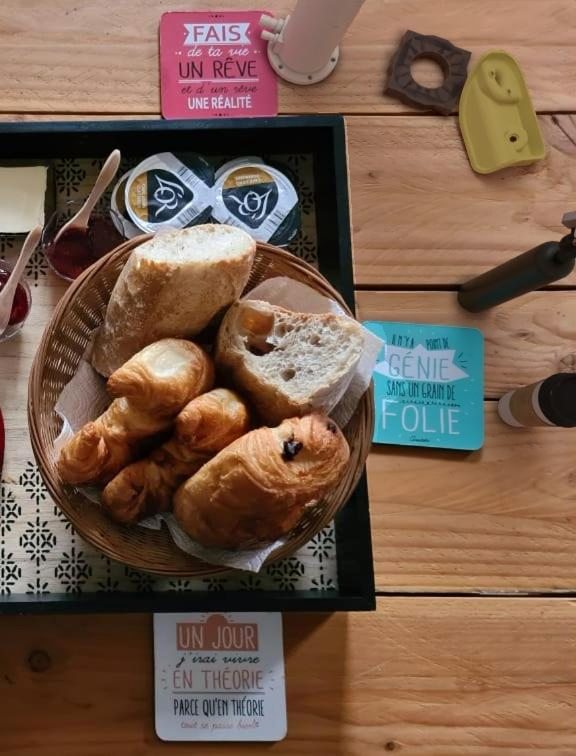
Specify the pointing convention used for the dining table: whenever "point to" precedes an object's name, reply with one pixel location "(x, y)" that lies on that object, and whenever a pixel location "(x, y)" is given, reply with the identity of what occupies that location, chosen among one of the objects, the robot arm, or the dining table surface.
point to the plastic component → (499, 115)
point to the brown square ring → (440, 52)
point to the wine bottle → (516, 278)
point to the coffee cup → (542, 403)
